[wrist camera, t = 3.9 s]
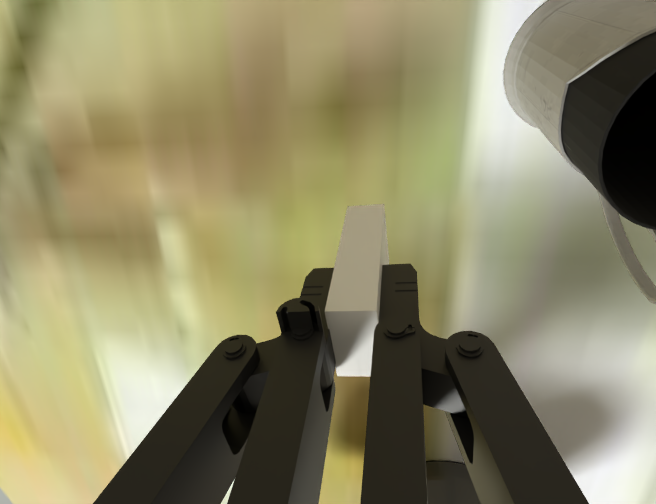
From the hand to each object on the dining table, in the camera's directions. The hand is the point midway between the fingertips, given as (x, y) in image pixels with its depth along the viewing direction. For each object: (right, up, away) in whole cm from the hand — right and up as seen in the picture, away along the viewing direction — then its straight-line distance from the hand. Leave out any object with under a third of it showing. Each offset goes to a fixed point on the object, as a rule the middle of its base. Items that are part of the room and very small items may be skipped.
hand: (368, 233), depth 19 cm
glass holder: (+15, +9, +11) cm, 21 cm away
